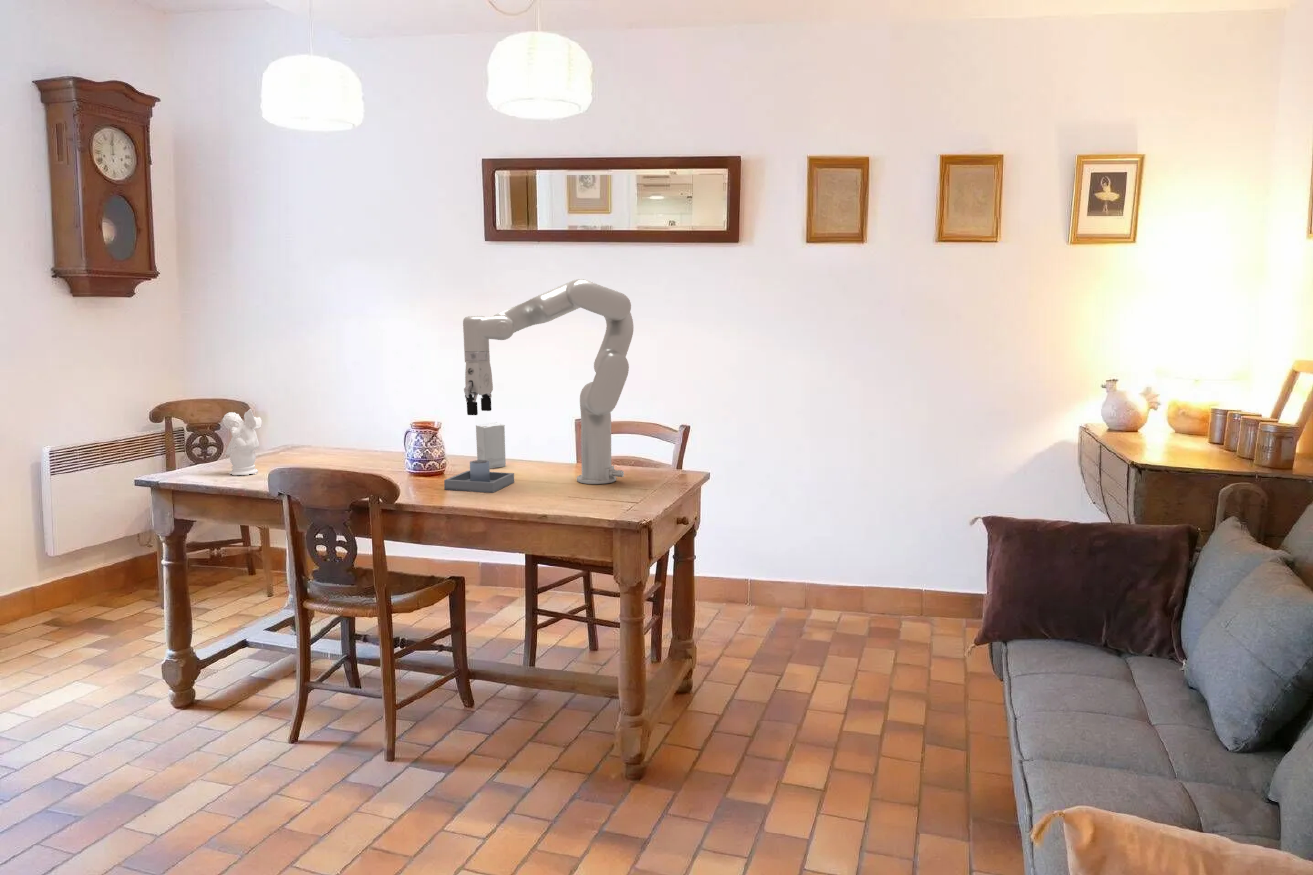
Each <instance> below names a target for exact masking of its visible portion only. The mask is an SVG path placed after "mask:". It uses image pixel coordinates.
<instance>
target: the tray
mask: <svg viewBox="0 0 1313 875" xmlns="http://www.w3.org/2000/svg"><path fill="white" fill-rule="evenodd" d="M443 483H444V484H443V485H444V486H443V487H444V491H457V492H458V491H460V492H476V493H489V494H490V493H491V494H492V493H496V492H498V491H500V490H502V489H503V488H506V487H508V486H510V485H513V484H514V483H515V473H514V472H502V471H501V472H497V471H490V482H480V481H470V470H465V471H463V472H461V473H458V474H456V475H453V476H451V477H448V478H446V479H444V482H443Z"/></svg>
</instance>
